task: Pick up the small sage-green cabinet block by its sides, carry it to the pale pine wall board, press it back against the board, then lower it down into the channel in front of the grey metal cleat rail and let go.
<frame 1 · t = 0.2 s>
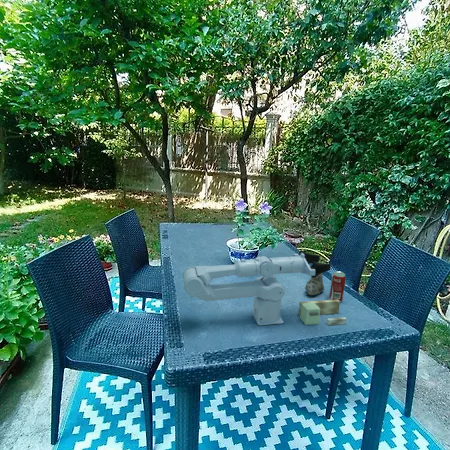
hand: (324, 262, 106), 21 cm above the table, tool horizontal, fingers open, 7 cm apart
wall board: (319, 314, 111), on the table
soda can: (335, 300, 123), on the table
cabinet block: (309, 321, 107), on the table
mineral rock: (312, 291, 131), on the table
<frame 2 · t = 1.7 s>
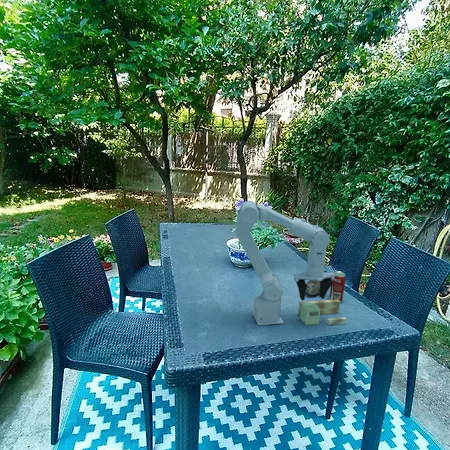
hand: (311, 298, 104), 9 cm above the table, tool pointing down, fingers open, 7 cm apart
nothing on the table moved.
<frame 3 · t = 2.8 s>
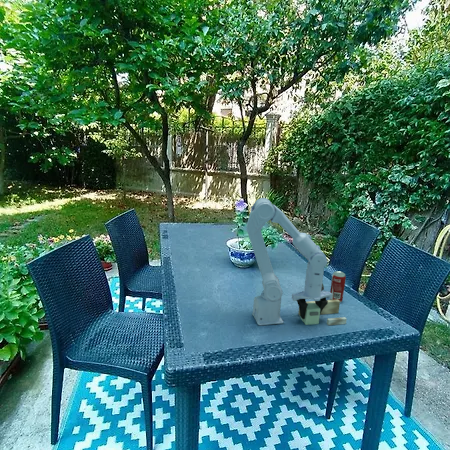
hand: (309, 316, 106), 2 cm above the table, tool pointing down, fingers closed on cabinet block, 5 cm apart
cabinet block: (309, 320, 107), on the table, touching gripper
everything else where it was.
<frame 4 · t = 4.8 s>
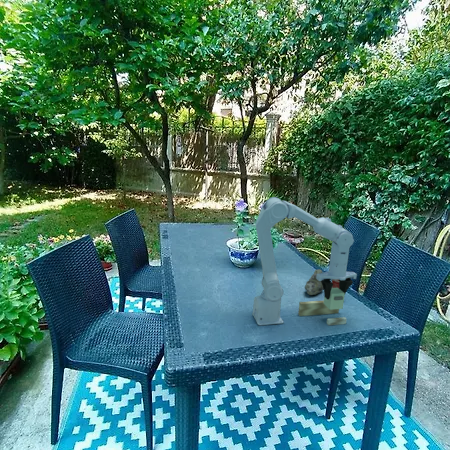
hand: (333, 297, 106), 9 cm above the table, tool pointing down, fingers closed on cabinet block, 5 cm apart
cabinet block: (332, 306, 106), point 6 cm above the table, touching gripper
everything else where it was.
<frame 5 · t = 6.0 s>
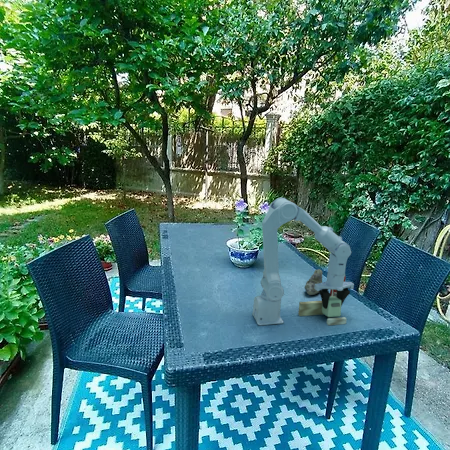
hand: (331, 306, 108), 4 cm above the table, tool pointing down, fingers closed on cabinet block, 5 cm apart
cabinet block: (331, 314, 109), point 2 cm above the table, tilted 8°, touching gripper, wall board
everything else where it was.
when the fingers open (3 cm above the table, at t = 6.9 s): cabinet block stays where it is, on the table.
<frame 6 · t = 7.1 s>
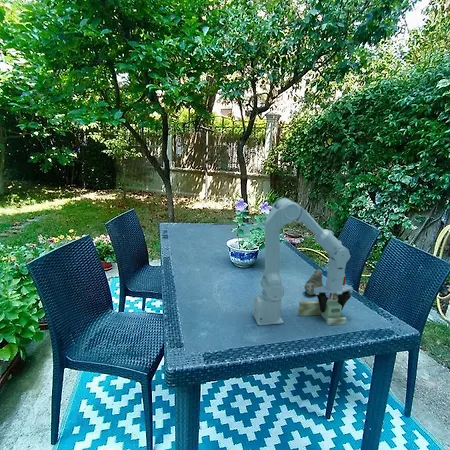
hand: (330, 310, 109), 3 cm above the table, tool pointing down, fingers open, 6 cm apart
cabinet block: (330, 317, 109), on the table
everything else where it was.
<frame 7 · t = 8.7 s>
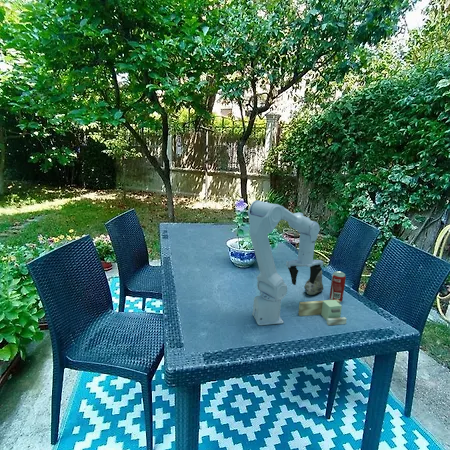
hand: (302, 283, 116), 9 cm above the table, tool pointing down, fingers open, 7 cm apart
nothing on the table moved.
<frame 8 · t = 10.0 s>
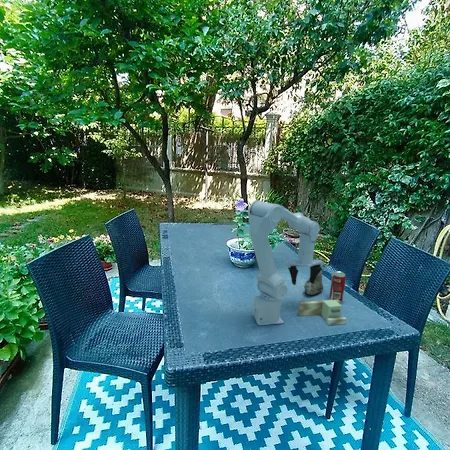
hand: (302, 283, 116), 9 cm above the table, tool pointing down, fingers open, 7 cm apart
nothing on the table moved.
at the end: cabinet block 0.2 cm from the target spot on the wall board, point 0.0 cm above the wall board's base; cabinet block tilted 0°; the gripper is holding nothing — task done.
